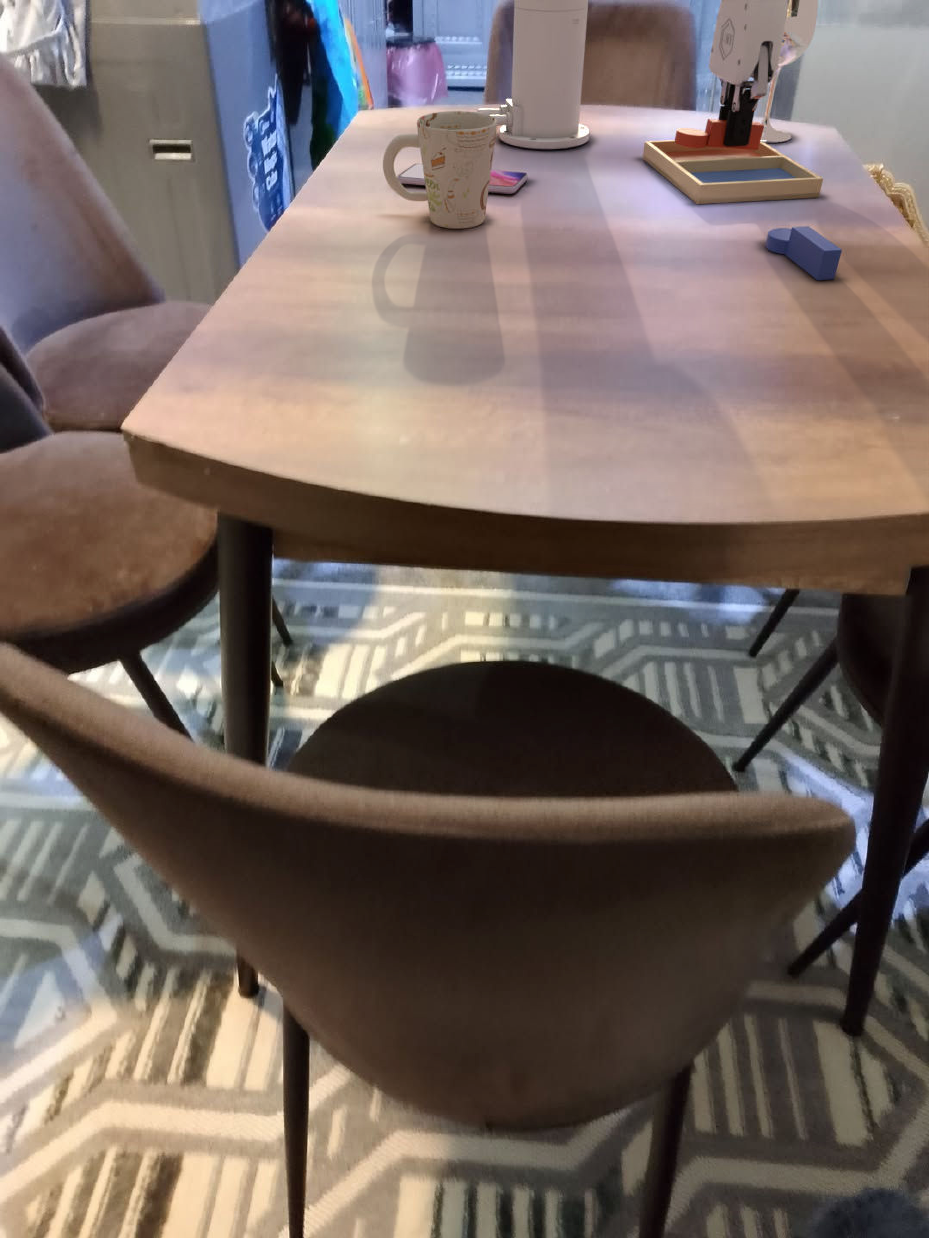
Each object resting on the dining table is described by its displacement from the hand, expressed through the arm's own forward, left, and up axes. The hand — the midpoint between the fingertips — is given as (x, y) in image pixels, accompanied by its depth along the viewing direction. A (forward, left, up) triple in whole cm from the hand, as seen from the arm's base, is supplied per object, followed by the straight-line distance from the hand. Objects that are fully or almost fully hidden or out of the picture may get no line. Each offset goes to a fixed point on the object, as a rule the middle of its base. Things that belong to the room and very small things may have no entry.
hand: (731, 142), depth 116 cm
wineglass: (+11, +13, -3) cm, 17 cm away
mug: (-40, -15, -3) cm, 43 cm away
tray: (-2, -5, -3) cm, 6 cm away
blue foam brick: (-6, -34, -3) cm, 34 cm away
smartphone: (-35, -2, -3) cm, 35 cm away
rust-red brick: (-2, 0, 0) cm, 2 cm away
